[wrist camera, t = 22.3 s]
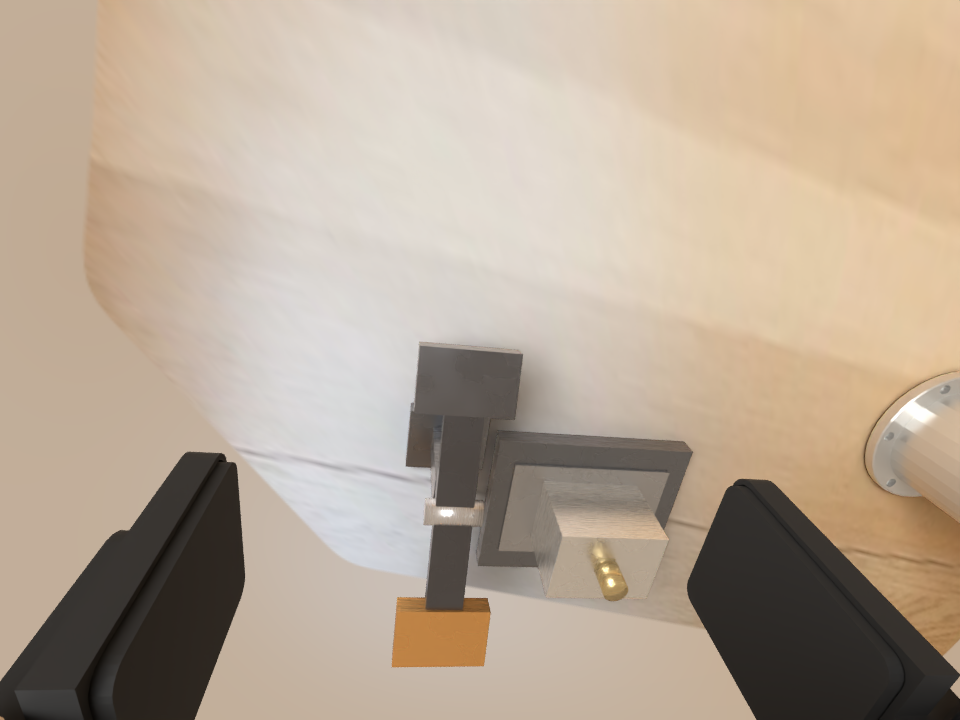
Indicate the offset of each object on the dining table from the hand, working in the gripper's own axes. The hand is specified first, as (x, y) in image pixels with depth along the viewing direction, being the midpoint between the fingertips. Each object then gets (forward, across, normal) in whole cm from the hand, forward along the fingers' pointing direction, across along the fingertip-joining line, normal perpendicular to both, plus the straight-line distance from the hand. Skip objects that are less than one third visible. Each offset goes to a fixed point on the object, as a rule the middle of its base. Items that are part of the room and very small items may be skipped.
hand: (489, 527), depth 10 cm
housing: (+25, -14, +21) cm, 35 cm away
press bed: (+26, -10, +20) cm, 35 cm away
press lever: (+17, -2, +15) cm, 23 cm away
